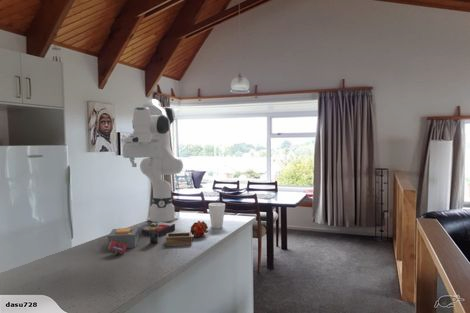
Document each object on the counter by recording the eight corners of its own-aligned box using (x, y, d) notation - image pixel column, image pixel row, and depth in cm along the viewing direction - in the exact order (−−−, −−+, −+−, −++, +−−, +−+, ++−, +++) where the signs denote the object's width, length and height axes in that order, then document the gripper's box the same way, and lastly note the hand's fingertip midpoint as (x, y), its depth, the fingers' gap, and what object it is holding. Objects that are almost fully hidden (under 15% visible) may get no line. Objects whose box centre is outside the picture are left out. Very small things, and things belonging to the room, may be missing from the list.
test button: (118, 234, 167) (118, 228, 166) (131, 234, 167) (131, 227, 167) (115, 238, 161) (115, 231, 161) (129, 237, 162) (129, 231, 161)
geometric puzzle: (130, 245, 155) (119, 232, 153) (130, 250, 149) (118, 236, 147) (117, 256, 154) (105, 243, 152) (117, 261, 147) (104, 248, 145)
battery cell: (149, 241, 168) (149, 222, 168) (158, 241, 169) (158, 221, 168) (149, 244, 164) (148, 224, 163) (157, 244, 165) (157, 223, 164)
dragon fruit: (206, 236, 183) (194, 245, 173) (194, 225, 185) (182, 234, 175) (214, 225, 180) (202, 234, 169) (201, 214, 182) (189, 223, 171)
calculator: (141, 228, 181) (159, 220, 194) (141, 236, 181) (159, 228, 195) (157, 230, 176) (175, 222, 189) (158, 239, 176) (175, 230, 190)
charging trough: (166, 241, 169) (166, 233, 169) (191, 240, 171) (191, 232, 170) (165, 246, 161) (165, 237, 161) (191, 244, 163) (191, 236, 163)
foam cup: (206, 225, 199) (206, 203, 198) (221, 224, 203) (221, 202, 202) (212, 229, 190) (212, 206, 190) (227, 227, 194) (227, 205, 194)
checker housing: (113, 241, 169) (113, 228, 169) (138, 240, 171) (138, 227, 171) (108, 248, 158) (107, 235, 157) (135, 247, 159) (134, 233, 159)
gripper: (156, 139, 183) (156, 165, 183) (120, 139, 168) (121, 167, 168) (163, 139, 178) (163, 165, 179) (127, 138, 163) (127, 167, 164)
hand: (142, 166), depth 173 cm, fingers open, 8 cm apart
